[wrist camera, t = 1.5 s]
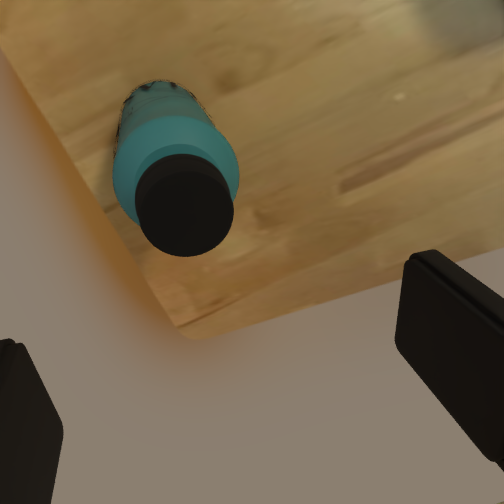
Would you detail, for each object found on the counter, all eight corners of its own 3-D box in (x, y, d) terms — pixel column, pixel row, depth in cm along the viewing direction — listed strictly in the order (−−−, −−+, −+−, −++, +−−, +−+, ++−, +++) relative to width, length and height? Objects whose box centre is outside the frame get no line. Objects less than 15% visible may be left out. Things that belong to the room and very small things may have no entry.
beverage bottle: (202, 79, 32) (277, 135, 15) (199, 161, 35) (258, 283, 18) (117, 72, 30) (94, 126, 13) (121, 158, 33) (108, 291, 16)
